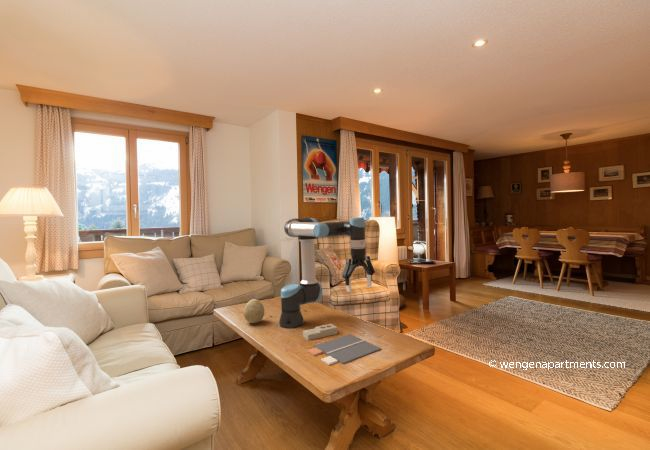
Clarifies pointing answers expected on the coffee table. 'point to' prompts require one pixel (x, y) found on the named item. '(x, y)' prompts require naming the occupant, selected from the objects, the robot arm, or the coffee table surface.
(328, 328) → the electrical outlet
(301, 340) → the coffee table surface
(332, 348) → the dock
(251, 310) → the fossilized egg
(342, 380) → the coffee table surface
